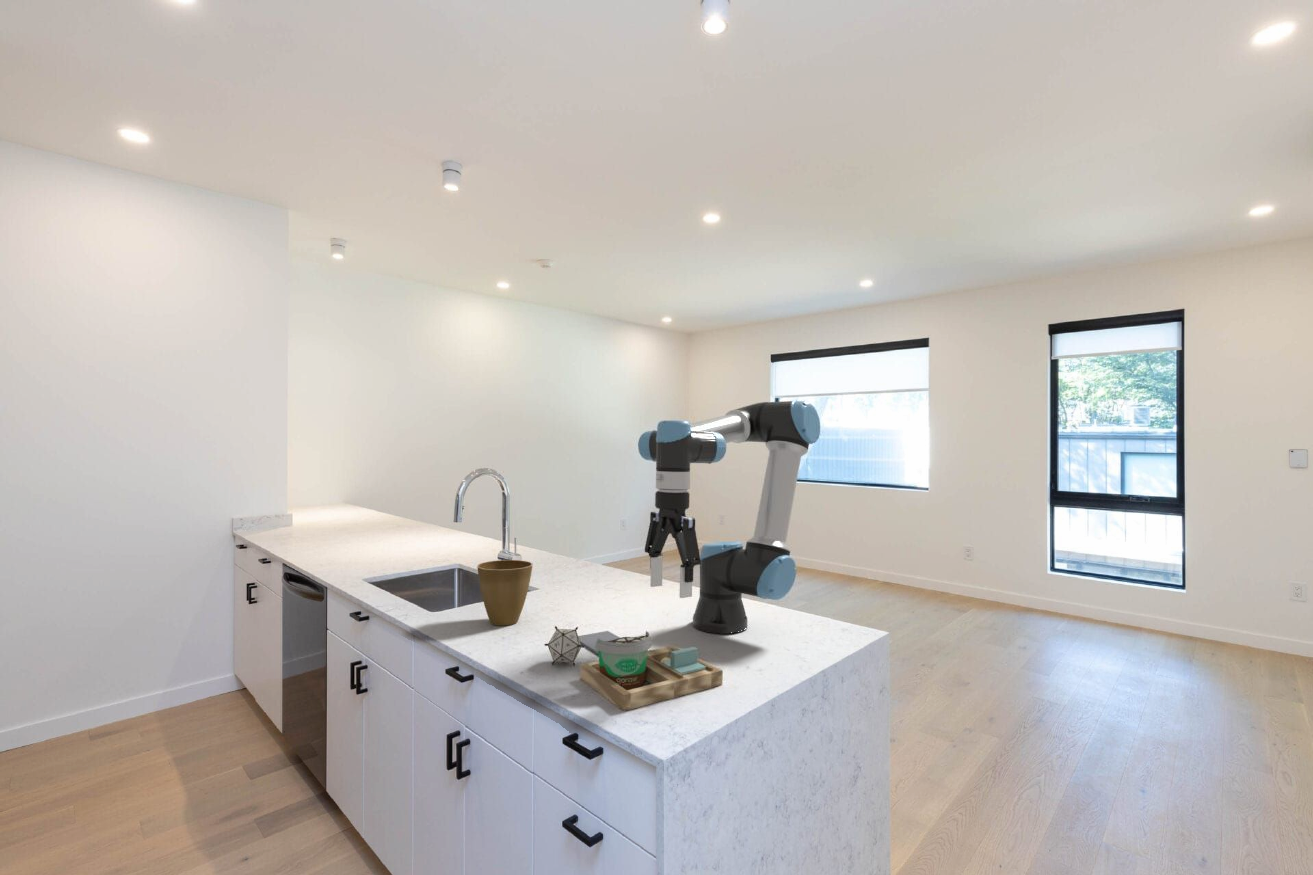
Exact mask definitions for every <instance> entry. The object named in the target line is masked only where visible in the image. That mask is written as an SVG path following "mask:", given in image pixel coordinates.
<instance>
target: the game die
mask: <svg viewBox="0 0 1313 875" xmlns="http://www.w3.org/2000/svg"><path fill="white" fill-rule="evenodd" d="M554 629H555V631H554V633H553V635H552V637H551V638H550V639H549V641H548V643H544V644H543V645H544V647H545V646H547V647H548V650H549V653H550V655H551V659H552V662H551V666H553V665H555V663H572V666H574V667H575V666H576V663H575V661H576V659H577V657H578V655H579V653H580V651H581V649H584V648H586V647H585V646H584V645H582V644H581V643H580V640H579V637H578V636H579V635H578V632H577V630H578V629H579V626H575V628H574V629H572V628H571V629H569V628H568V629H566V628H565V629H564V628H563V629H562V628H558V627H557V626H556V625H554Z"/></svg>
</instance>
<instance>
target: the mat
mask: <svg viewBox="0 0 1313 875" xmlns="http://www.w3.org/2000/svg"><path fill="white" fill-rule="evenodd" d="M578 637H579V640H580V643H581V645H584V646H585V647H584V648H586V649H587V650H589V651H591V652H593V653H594V654H595V655H598V656H599V653H598V650H597V649H595V646H596V641H598V638H599V639H600V640H603V641H611V640H615V639H618V638H621V637H620V636H618V635H616V634H614V633H612V632H611V631H609V630H604V631H600V632H593V633H588V634H581V635H578Z"/></svg>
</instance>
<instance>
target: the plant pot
mask: <svg viewBox="0 0 1313 875" xmlns="http://www.w3.org/2000/svg"><path fill="white" fill-rule="evenodd" d="M476 567H477V574H478V581H479V586H480V593H481V597H482V601H483V605H484V608H485V609H484V610H485V611H486V614H487V618H488V620H489V623H490V624H491V625H493V626H499V627H502V626H503V627H504V626H511V625H514V624H517V623H518V622H519V620H520V617H521V614H522V612H523V608H524V606H525V602H526V598H527V596H528V592H529V587H530V583H531V578H532V571H533V563H532V562H531V561H527V560H520V559H502V560H501V559H499V560H491V561H483V562H481V563H480V562H479V564H477V566H476Z"/></svg>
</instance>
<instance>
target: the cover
mask: <svg viewBox="0 0 1313 875" xmlns="http://www.w3.org/2000/svg"><path fill="white" fill-rule="evenodd" d="M680 649H681V650H676V651H671V656H670V661H666V662H662V663H663V664H664V665H666V666H668V667H670V668H671V669H673V670H675V671H677V672H679V673H680V674H682V675H684V674H688V673H692V672H696V671H700V670H704V669H706V666H704V665H702V664H700V663H698V662H697V658H698V653H699V652H698V648H697V647H695V646H690V647H686V648H680Z"/></svg>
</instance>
